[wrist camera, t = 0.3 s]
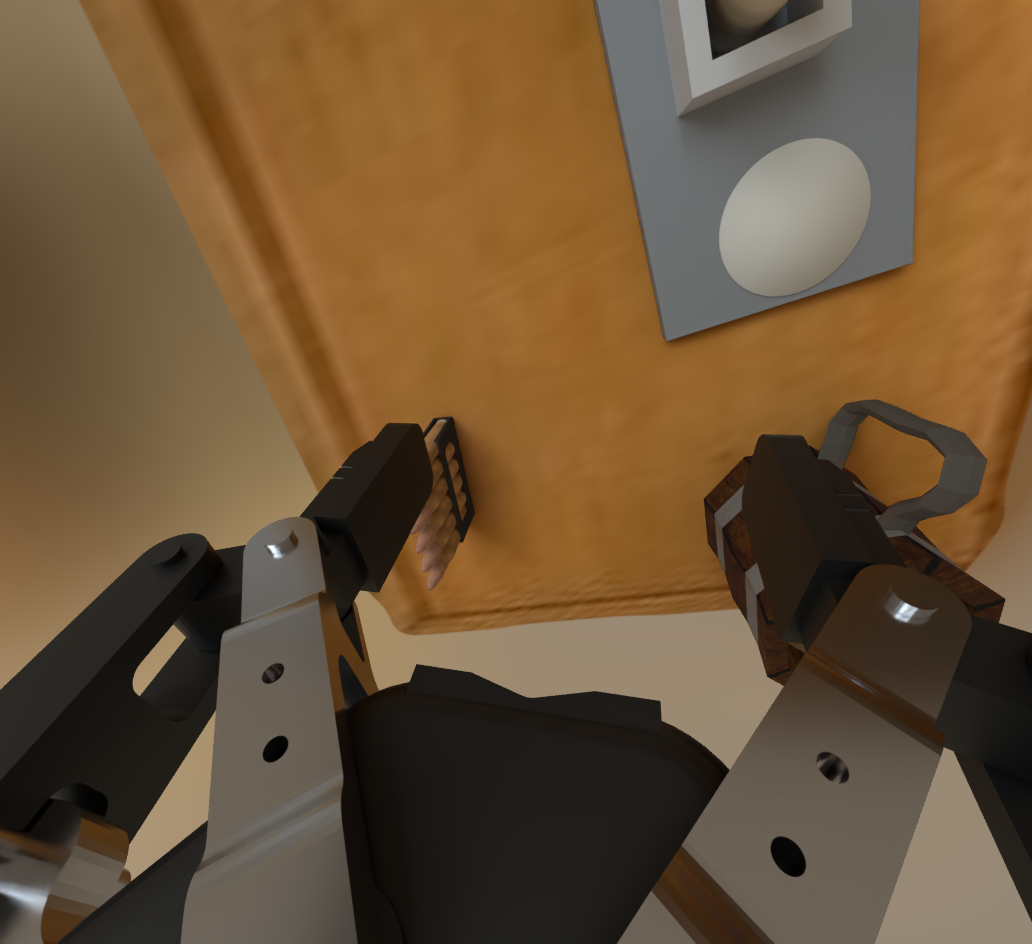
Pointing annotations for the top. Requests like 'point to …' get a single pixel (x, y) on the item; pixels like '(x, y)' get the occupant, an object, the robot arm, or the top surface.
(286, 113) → the top surface
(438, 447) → the ammunition clip
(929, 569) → the mug
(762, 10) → the peg
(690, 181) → the board
